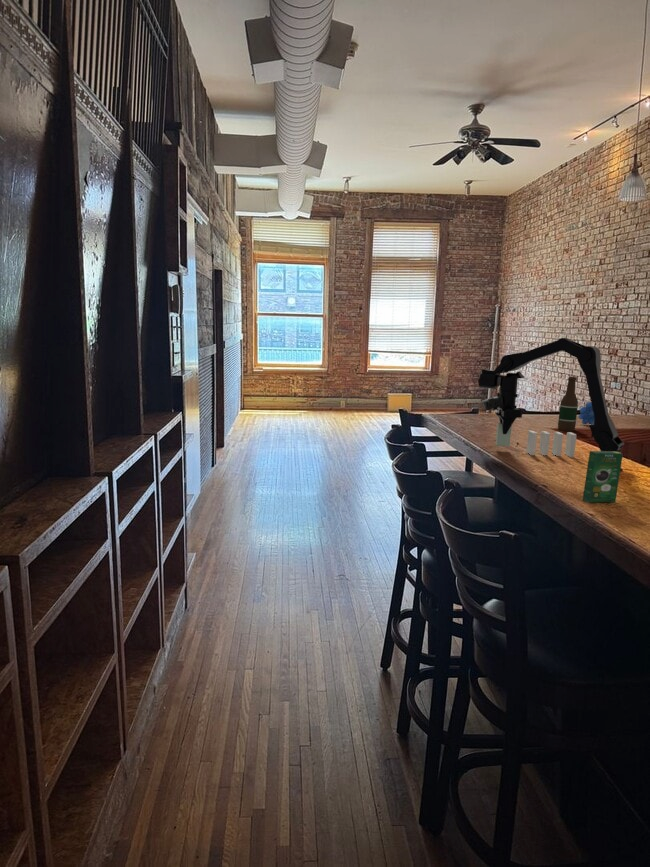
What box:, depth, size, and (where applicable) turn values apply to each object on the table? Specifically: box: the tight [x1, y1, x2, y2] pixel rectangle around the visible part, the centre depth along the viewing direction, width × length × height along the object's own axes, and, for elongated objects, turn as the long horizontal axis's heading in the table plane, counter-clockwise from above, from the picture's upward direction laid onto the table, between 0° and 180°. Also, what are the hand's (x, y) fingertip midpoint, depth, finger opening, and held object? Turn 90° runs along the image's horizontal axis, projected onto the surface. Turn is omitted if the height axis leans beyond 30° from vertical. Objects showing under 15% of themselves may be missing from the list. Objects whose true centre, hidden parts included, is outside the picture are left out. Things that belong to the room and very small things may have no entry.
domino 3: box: [538, 430, 551, 456], centre depth 193 cm, size 5×2×8 cm, turn 177°
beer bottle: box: [557, 376, 579, 432], centre depth 246 cm, size 8×8×24 cm
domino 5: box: [564, 431, 577, 458], centre depth 192 cm, size 5×2×8 cm, turn 177°
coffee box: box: [582, 450, 624, 504], centre depth 139 cm, size 8×3×13 cm, turn 102°
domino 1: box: [495, 422, 513, 447], centre depth 196 cm, size 5×2×8 cm, turn 87°
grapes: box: [578, 401, 594, 425], centre depth 263 cm, size 12×7×12 cm, turn 64°
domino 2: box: [525, 430, 538, 456], centre depth 193 cm, size 5×2×8 cm, turn 177°
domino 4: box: [551, 431, 565, 457], centre depth 193 cm, size 5×2×8 cm, turn 177°
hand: (503, 433), depth 196 cm, fingers closed on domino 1, 2 cm apart
